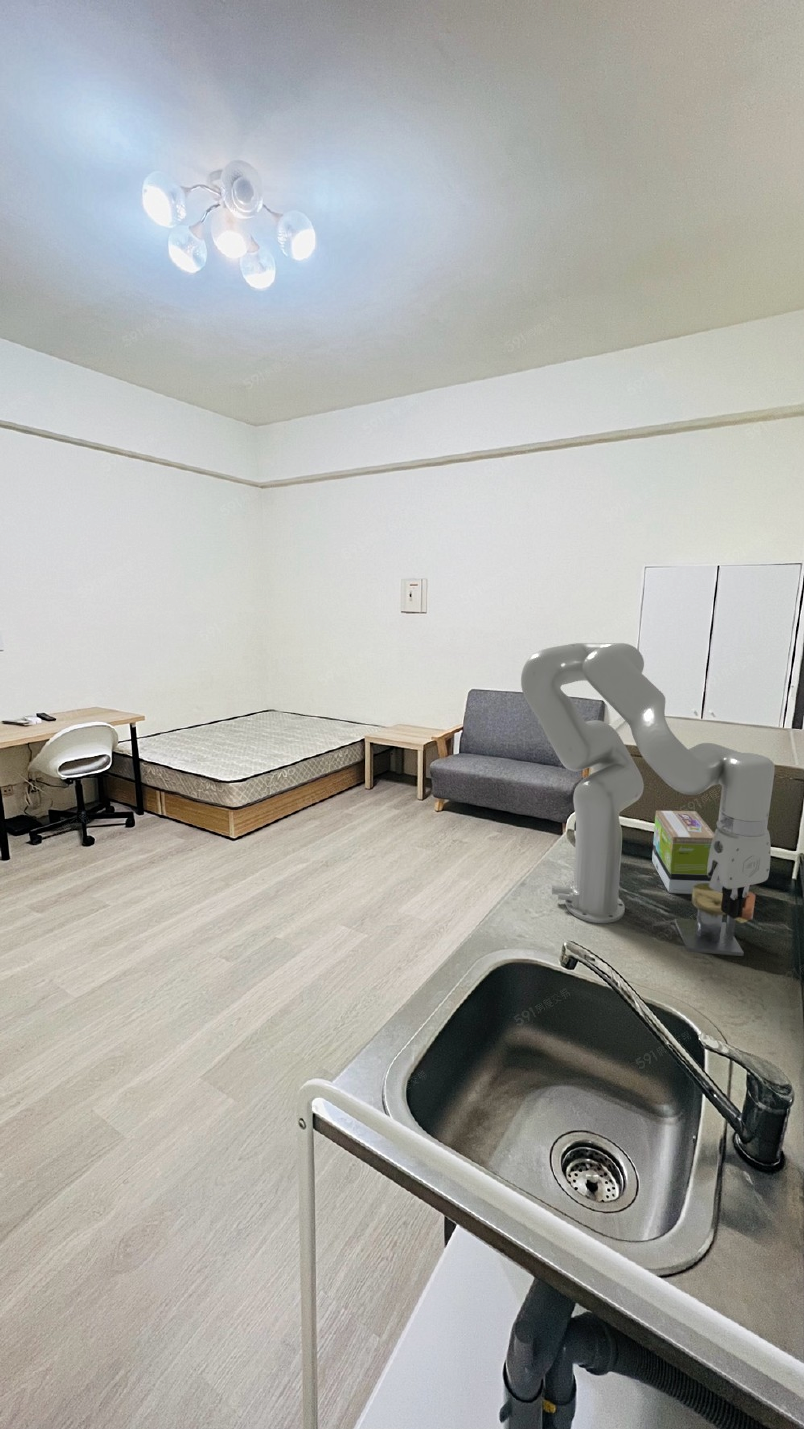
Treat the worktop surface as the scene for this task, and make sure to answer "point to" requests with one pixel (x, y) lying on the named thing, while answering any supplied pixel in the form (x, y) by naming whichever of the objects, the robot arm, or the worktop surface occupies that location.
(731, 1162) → the worktop surface
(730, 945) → the grey crank stand
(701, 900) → the crank with handle
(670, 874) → the tea box
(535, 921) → the worktop surface
